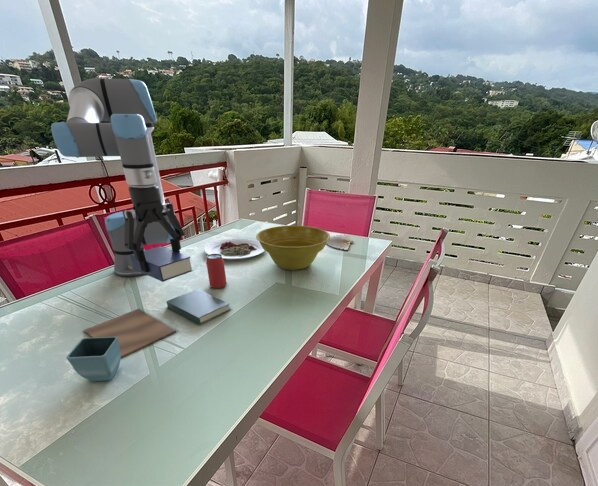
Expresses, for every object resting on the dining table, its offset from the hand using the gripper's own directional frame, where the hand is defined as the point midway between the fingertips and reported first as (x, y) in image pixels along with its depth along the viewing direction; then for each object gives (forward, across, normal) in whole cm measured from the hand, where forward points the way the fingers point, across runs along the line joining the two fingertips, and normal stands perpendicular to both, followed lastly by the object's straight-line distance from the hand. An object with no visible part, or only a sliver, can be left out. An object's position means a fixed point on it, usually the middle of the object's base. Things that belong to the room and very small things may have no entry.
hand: (162, 265), depth 100 cm
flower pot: (+18, -29, -12) cm, 36 cm away
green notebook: (+18, +9, -2) cm, 20 cm away
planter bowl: (+18, +63, -1) cm, 65 cm away
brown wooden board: (+18, -14, +3) cm, 23 cm away
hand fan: (+18, +105, 0) cm, 106 cm away
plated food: (+18, +58, +32) cm, 69 cm away
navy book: (+1, 0, 0) cm, 1 cm away
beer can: (+18, +26, +8) cm, 33 cm away
